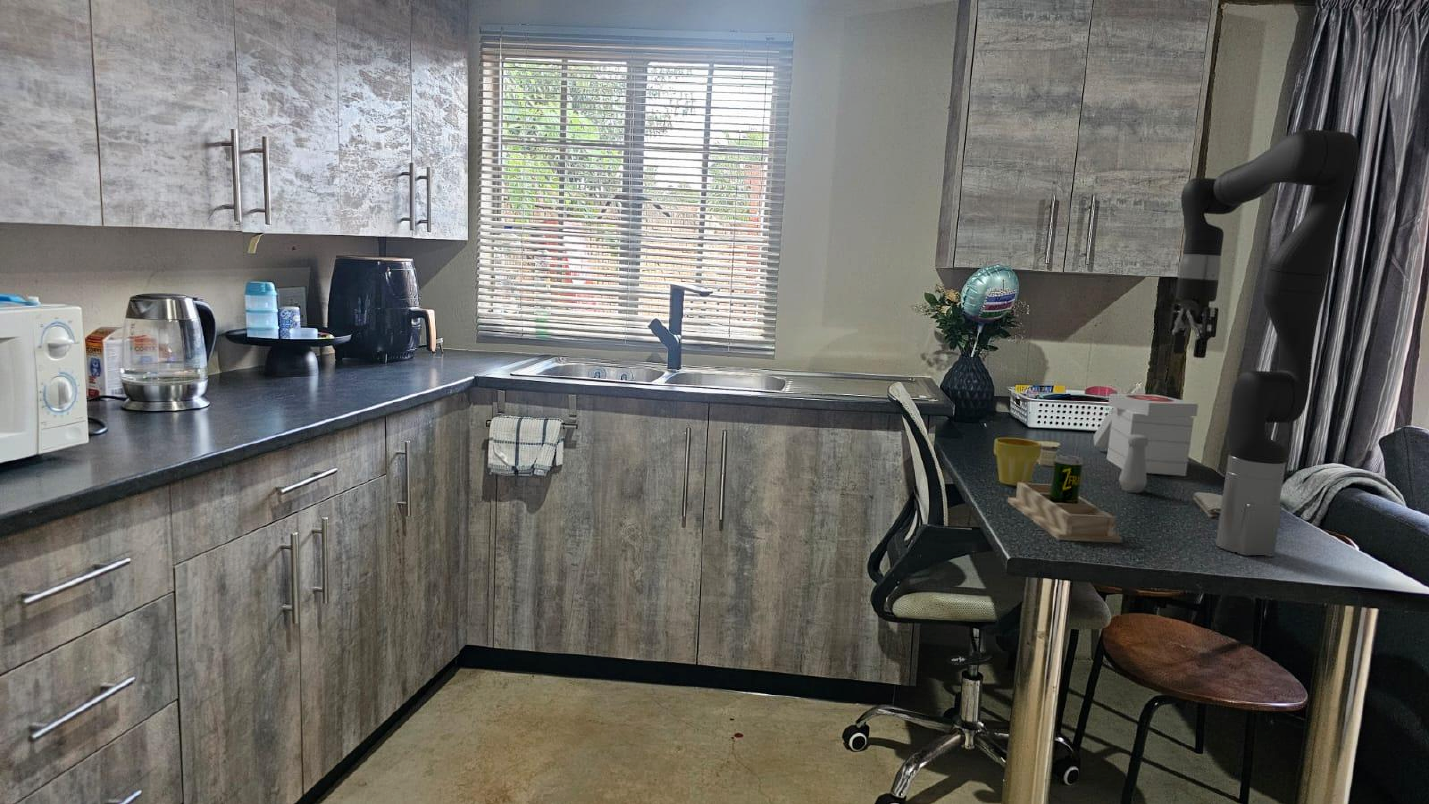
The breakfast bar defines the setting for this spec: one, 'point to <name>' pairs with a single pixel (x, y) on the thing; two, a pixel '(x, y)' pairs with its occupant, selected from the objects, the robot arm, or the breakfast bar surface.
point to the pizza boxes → (1149, 430)
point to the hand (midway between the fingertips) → (1187, 355)
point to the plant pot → (1016, 459)
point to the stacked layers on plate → (1048, 453)
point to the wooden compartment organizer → (1064, 515)
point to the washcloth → (1209, 503)
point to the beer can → (1066, 479)
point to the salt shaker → (1134, 465)
